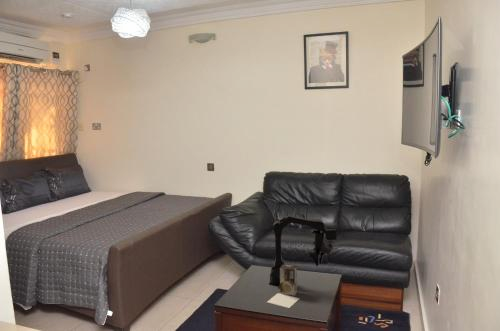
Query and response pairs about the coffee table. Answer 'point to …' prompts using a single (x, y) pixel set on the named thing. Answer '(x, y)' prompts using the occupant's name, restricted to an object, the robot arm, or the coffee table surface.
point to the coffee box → (288, 280)
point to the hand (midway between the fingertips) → (318, 264)
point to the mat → (283, 300)
